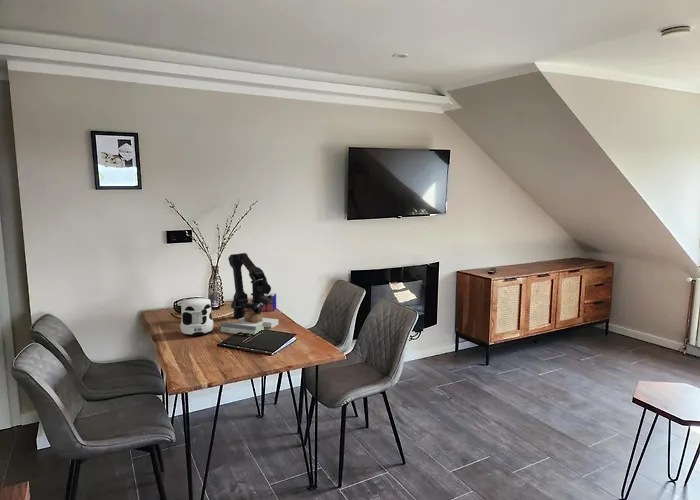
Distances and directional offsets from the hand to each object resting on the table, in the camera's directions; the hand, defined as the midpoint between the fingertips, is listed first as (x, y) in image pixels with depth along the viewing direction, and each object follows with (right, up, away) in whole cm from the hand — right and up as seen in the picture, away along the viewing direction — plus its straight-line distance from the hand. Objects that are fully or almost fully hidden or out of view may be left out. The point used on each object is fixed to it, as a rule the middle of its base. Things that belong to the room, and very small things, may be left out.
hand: (258, 317), depth 277 cm
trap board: (-3, -5, -7) cm, 9 cm away
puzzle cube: (-1, 0, +38) cm, 38 cm away
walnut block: (-2, -2, -4) cm, 5 cm away
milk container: (-30, -6, -17) cm, 35 cm away
